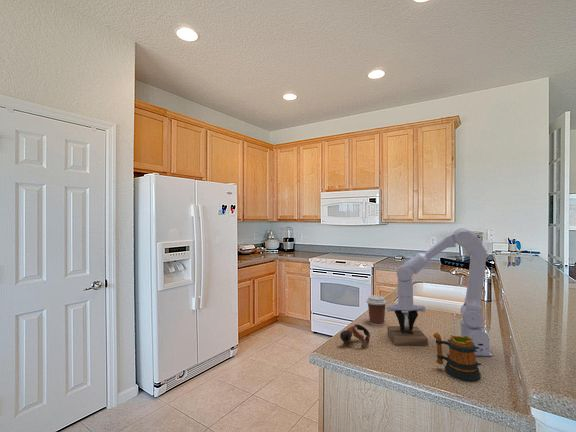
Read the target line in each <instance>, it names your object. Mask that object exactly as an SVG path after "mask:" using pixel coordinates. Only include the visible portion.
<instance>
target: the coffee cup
mask: <svg viewBox="0 0 576 432" xmlns="http://www.w3.org/2000/svg"><path fill="white" fill-rule="evenodd" d="M366 303H367V305H368V308H367V309H368V317H369V324H370V325H373V326H384V325H385V317H386V305H387V303H388V301H387V300H386V299H385V297H384V296H382V295H378V294H377V295H369V296H368V298H367V299H366Z"/></svg>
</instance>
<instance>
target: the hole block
mask: <svg viewBox="0 0 576 432" xmlns="http://www.w3.org/2000/svg"><path fill="white" fill-rule="evenodd" d="M387 335H388V336H389V337H390V339H391V341H392V342H393V344H394V346H413V347H414V346H415V347H416V346H418V347H428V344H429V340H428V337H427V336H426V335H425V333H424V332H422V330H421V329H420V328H419V327H418V326H415V325H413V330H410V334H402V330H401V329H400V325H387Z"/></svg>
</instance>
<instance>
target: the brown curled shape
mask: <svg viewBox="0 0 576 432" xmlns="http://www.w3.org/2000/svg"><path fill="white" fill-rule="evenodd" d="M359 331H363V334H364V335H365V336H364V335H363V334H361V333H360V332H359ZM339 335H340V336H339V337H340V339H341V341H342V342H343V344H345V345H349V344H350V343H349V342H350V340H351V339H352V337H353V336H354V337H355V338H356V339H358V340H359V341H361V342H362V344H361V345H360V347H361V348H362V349H365V348H366V347H367V346H368V345H369V343H370V338H371V333H370V331H369V330H368V329H367V328H366V327H365V326H363V325H361V324H357V323H356V324H353V326H350V327H348V328H347V330H343V331H341V333H340V334H339Z"/></svg>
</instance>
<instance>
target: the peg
mask: <svg viewBox="0 0 576 432" xmlns="http://www.w3.org/2000/svg"><path fill="white" fill-rule="evenodd" d="M402 314H403V315H404V316H403V330H402V334H410V313H409V312H408V311H402Z"/></svg>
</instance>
